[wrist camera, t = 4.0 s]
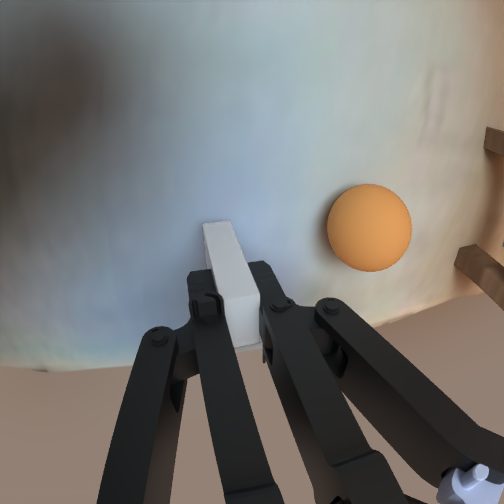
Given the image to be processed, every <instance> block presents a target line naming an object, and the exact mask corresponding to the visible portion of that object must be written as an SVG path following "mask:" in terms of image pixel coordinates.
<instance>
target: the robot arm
mask: <svg viewBox="0 0 504 504" xmlns="http://www.w3.org/2000/svg"><path fill="white" fill-rule="evenodd" d="M202 226H203V236H204V245H205V255H206V264H207V269H206V270H199V271H192V272H190V273H189V275H188V277H187V285H188V293H189V310H190V315H191V318H190V320H189V321H188V323H187V324H186V325H184V326H183V327H181V328H179V329H177V330H174V331H173V330H172V329H170V328H169V327H163V326H160V327H155V328H152V329H150V330H148V331H147V332H146V333H145V334H144V336H143V338H142V340H141V343H140V346H139V349H138V352H137V355H136V359H135V362H134V365H133V368H132V371H131V375H130V378H129V381H128V384H127V387H126V391H125V394H124V397H123V401H122V404H121V408H120V411H119V415H118V418H117V422H116V426H115V429H114V433H113V436H112V440H111V444H110V448H109V452H108V456H107V460H106V464H105V468H104V473H103V476H102V481H101V485H100V490H99V494H98V499H97V504H169V503H170V495H171V487H172V480H173V473H174V465H175V458H176V451H177V444H178V437H179V430H180V423H181V417H182V411H183V404H184V398H185V392H186V386H187V379H188V378H190V377H192V376H194V375H196V374H199V373H200V378H201V384H202V390H203V396H204V401H205V407H206V412H207V417H208V422H209V427H210V432H211V437H212V442H213V447H214V451H215V456H216V461H217V465H218V469H219V474H220V478H221V483H222V486H223V492H224V498H225V502H226V504H284V501H283V498H282V495H281V492H280V490H279V488H278V485H277V484H276V483H275V481H274V479H273V477H272V473H271V471H270V467H269V464H268V461H267V458H266V455H265V452H264V448H263V445H262V442H261V439H260V436H259V432H258V429H257V426H256V423H255V419H254V416H253V413H252V409H251V406H250V403H249V399H248V396H247V393H246V389H245V385H244V382H243V379H242V375H241V371H240V368H239V364H238V361H237V357H236V354H235V350H234V348H235V347H240V346H246V345H251V344H257V343H260V336H261V339H262V342H263V363H265V361H266V362H267V364H268V367H269V370H270V373H271V375H272V378H273V381H274V384H275V387H276V389H277V392H278V395H279V398H280V400H281V403H282V406H283V408H284V411H285V414H286V417H287V419H288V422H289V425H290V428H291V430H292V433H293V436H294V438H295V441H296V443H297V446H298V449H299V452H300V454H301V457H302V460H303V462H304V465H305V467H306V470H307V473H308V475H309V478H310V481H311V483H312V486H313V489H314V498H315V502H316V504H427V503H424V502H422V501H420V500H417V499H415V498H412V497H410V496H408V495H405V494H404V493H403V492H402V490H401V488H400V486H399V484H398V482H397V480H396V478H395V476H394V474H393V472H392V470H391V468H390V466H389V464H388V463H387V460H386V459H385V457H384V456H383V454H381V453H380V452H379V451H376V450H373V449H371V447H370V446H369V444H368V442H367V440H366V438H365V436H364V435H363V433H362V431H361V429H360V427H359V425H358V423H357V421H356V419H355V417H354V415H353V413H352V411H351V409H350V407H349V405H348V403H347V401H346V399H345V397H344V395H343V394H342V392H343V393H344V394H345V395H346V396H347V398H348V399H349V400H350V401H351V402H352V403H353V404H354V406H356V408H357V409H358V410H359V411H360V412H361V413H362V414H363V416H364V417H365V418H366V419H367V420H368V421H369V422H370V423H371V424H372V425H373V427H374V428H375V429H376V430H377V431H378V432H379V433H380V434H381V435H382V436H383V438H384V439H385V440H386V441H387V442H388V443H389V444H390V445H391V446H392V447H393V448H394V450H395V451H396V452H397V453H398V454H399V455H400V456H401V457H402V458H403V459H404V460H405V461H406V462H407V464H408V465H409V466H410V467H411V468H412V469H413V470H414V471H415V472H416V473H417V474H418V475H419V476H420V477H421V478H422V479H424V480H425V481H427V482H428V483H429V484H431V485H432V486H434V487H436V488H438V493H437V496H436V499H437V501H438V503H440V504H498V501H499V499H500V496H501V493H502V491H503V488H504V437H502V436H500V435H498V434H496V433H493V432H491V431H489V430H487V429H484V428H482V427H480V426H478V425H477V424H476V423H475V422H474V421H473V420H472V419H471V418H470V417H469V416H468V415H467V414H465V412H464V411H463V410H461V409H460V408H459V407H458V406H457V405H456V404H455V403H454V402H453V401H452V400H451V399H450V398H449V397H448V396H447V395H445V394H444V393H443V392H442V391H441V390H440V389H439V388H438V387H437V386H436V385H434V383H433V382H431V381H430V380H429V379H428V378H427V377H426V376H425V375H424V374H423V373H422V372H420V371H419V370H418V369H417V368H416V367H415V366H414V365H413V364H412V363H411V362H410V361H409V360H408V359H406V358H405V357H404V356H403V355H402V354H401V353H400V352H399V351H398V350H396V349H395V348H394V347H393V346H392V345H391V344H390V343H389V342H388V341H386V340H385V339H384V338H383V337H382V336H381V335H380V334H379V333H378V332H377V331H375V330H374V329H373V328H372V327H371V326H370V325H369V324H368V323H367V322H365V321H364V320H363V319H362V318H361V317H360V316H359V315H358V314H356V313H355V312H354V311H353V310H352V309H351V308H350V307H348V306H347V305H346V304H345V303H344V302H342V301H341V300H339V299H336V298H323V299H321V300H319V301H318V302H317V304H316V306H315V307H305V306H299V305H296V304H295V302H294V301H293V300H292V299H290V298H288V297H286V296H285V294H284V292H283V290H282V288H281V286H280V284H279V282H278V280H277V279H276V276H275V274H274V273H273V271H272V269H271V267H270V265H268V264H267V263H266V262H264V261H257V262H250V263H247V262H246V259H245V257H244V254H243V252H242V250H241V247H240V245H239V242H238V240H237V238H236V235H235V233H234V230H233V228H232V225H231V223H230V221H221V222H213V223H205V224H202ZM341 391H342V392H341Z"/></svg>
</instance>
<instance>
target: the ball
mask: <svg viewBox="0 0 504 504" xmlns="http://www.w3.org/2000/svg"><path fill="white" fill-rule="evenodd" d="M327 233H328V238H329V242H330V244H331V247H332V249H333V250H334V252H335V253H336V255H337V256H338V257H339V258H340V259H341V260H342V261H343V262H344V263H345V264H347V265H348V266H350V267H352V268H354V269H357V270H360V271H365V272H375V271H380V270H384V269H386V268H388V267H390V266H392V265H393V264H395V263H396V262H397V261H398V260H399V259H400V258H401V257H402V256H403V255H404V253H405V252H406V250H407V248H408V245H409V243H410V240H411V234H412V223H411V217H410V215H409V212H408V209H407V207H406V206H405V204H404V202H403V201H402V200H401V199H400V198H399V197H398V196H397V195H396V194H395V193H394V192H392V191H391V190H389V189H387V188H385V187H382V186H379V185H373V184H365V185H359V186H355V187H353V188H351V189H349V190H347V191H346V192H344V193H343V194H342V195H341V196H340V197H339V198H338V199H337V200H336V201H335V203H334V204H333V206H332V208H331V211H330V213H329V217H328V222H327Z"/></svg>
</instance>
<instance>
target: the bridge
mask: <svg viewBox="0 0 504 504" xmlns="http://www.w3.org/2000/svg"><path fill="white" fill-rule="evenodd" d="M484 148H486V149H488V150H490V151H493V152H495V153H497V154H499V155H501V156H504V131H501V130H497V129H493V128H489V127H487V129H486V137H485V143H484ZM454 265H455V266H457V267H458V268H459V269H460V270H461V271H462V272H463V273H464V274H466V275H467V276H468V277H469V278H470V279H471V280H472V281H473V282H474V283H475V284H477V285H478V286H479V287H480V288H481V289H482V290H483V291H484V292H485V293H486V294H487V295H488V296H489V297H490V298H491V299H492V300H493V301H495V303H496V304H498V305H499V306H500V307H501V308H502V309H503V310H504V267H503V266H502V265H501V264H500V263H499V262H497V261H496V260H495V259H494V258H492V257H491V256H490V255H489V254H487V253H486V252H485V251H484V250H482V249H481V248H480V247H479V246H477V245H476V244H475V245H471V246H466V247H462V248H460V249H459V252H458V255H457V258H456V261H455V264H454Z"/></svg>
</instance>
